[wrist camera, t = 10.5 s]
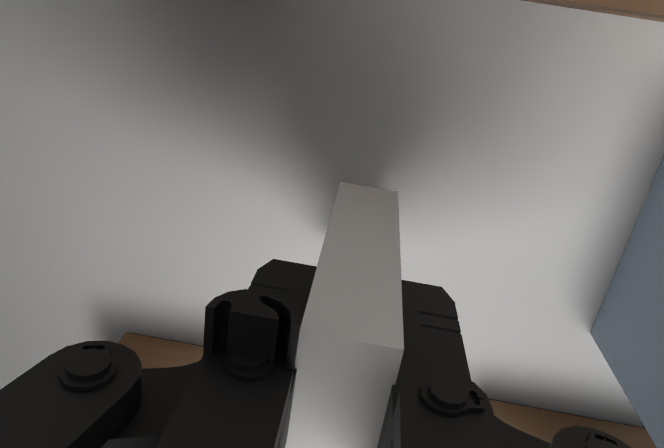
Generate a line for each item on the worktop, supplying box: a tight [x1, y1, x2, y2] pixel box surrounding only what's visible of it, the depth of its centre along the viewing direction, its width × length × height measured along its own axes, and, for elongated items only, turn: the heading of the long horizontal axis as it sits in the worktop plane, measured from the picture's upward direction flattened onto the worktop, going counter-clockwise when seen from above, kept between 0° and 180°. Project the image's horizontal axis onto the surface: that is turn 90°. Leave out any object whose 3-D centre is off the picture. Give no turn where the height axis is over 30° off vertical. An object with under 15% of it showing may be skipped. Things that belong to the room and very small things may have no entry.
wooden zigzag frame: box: [118, 0, 664, 448], centre depth 15 cm, size 22×22×4 cm
